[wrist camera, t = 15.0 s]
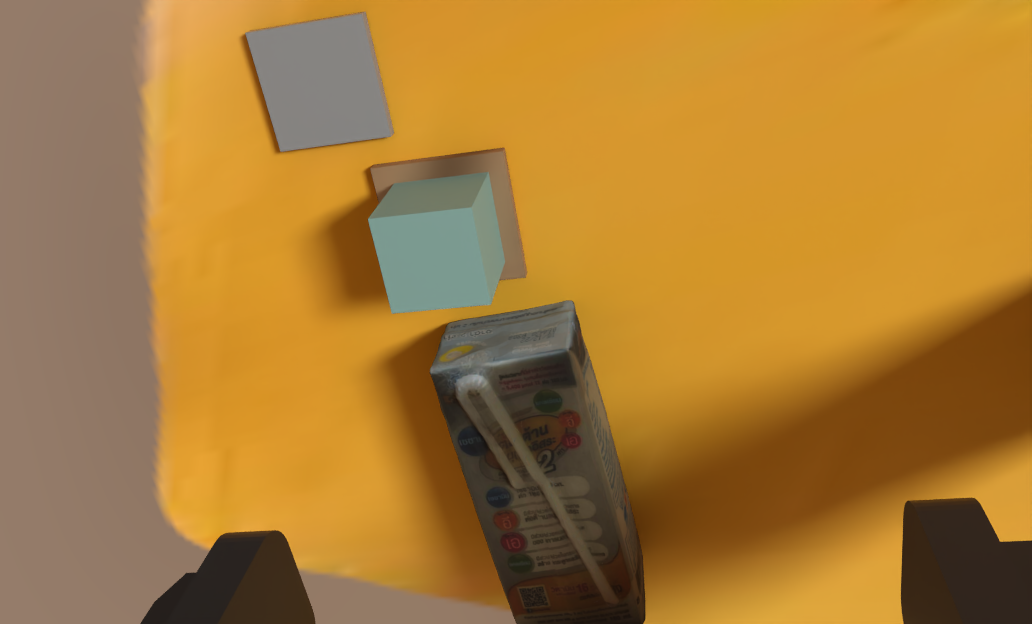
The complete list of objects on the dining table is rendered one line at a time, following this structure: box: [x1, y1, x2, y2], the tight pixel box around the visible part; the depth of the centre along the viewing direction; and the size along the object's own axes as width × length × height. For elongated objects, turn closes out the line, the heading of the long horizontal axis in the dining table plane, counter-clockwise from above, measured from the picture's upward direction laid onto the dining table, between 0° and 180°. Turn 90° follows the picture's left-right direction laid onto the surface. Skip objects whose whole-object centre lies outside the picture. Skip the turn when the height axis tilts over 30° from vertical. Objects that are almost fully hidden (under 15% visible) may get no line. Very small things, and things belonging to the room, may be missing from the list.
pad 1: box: [245, 12, 394, 152], centre depth 44 cm, size 6×6×1 cm
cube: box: [368, 172, 505, 314], centre depth 44 cm, size 5×5×5 cm
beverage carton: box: [430, 301, 645, 624], centre depth 50 cm, size 8×19×7 cm, turn 15°
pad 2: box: [370, 148, 527, 280], centre depth 46 cm, size 7×7×1 cm
